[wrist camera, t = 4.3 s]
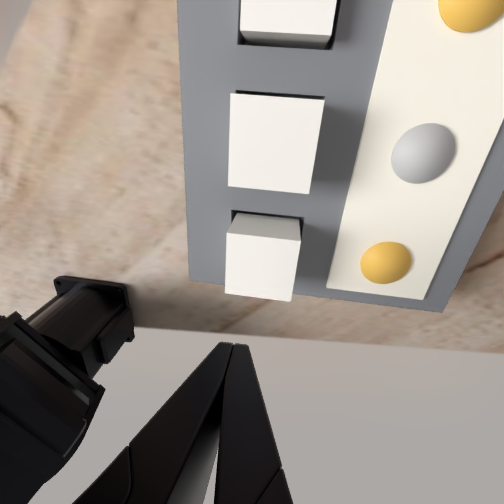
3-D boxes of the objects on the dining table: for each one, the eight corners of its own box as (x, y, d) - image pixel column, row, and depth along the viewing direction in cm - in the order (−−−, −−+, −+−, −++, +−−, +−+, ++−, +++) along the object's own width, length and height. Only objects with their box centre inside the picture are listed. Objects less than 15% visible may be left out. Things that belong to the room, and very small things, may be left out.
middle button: (238, 173, 16) (227, 186, 13) (242, 97, 14) (230, 93, 11) (305, 179, 15) (308, 194, 12) (317, 103, 14) (324, 100, 11)
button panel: (201, 260, 22) (186, 284, 19) (195, -87, 13) (165, -151, 10) (422, 286, 20) (446, 317, 17) (580, -79, 12) (686, -149, 9)
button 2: (234, 265, 18) (224, 293, 16) (237, 212, 17) (226, 232, 14) (290, 272, 18) (290, 301, 15) (298, 219, 16) (300, 241, 14)
